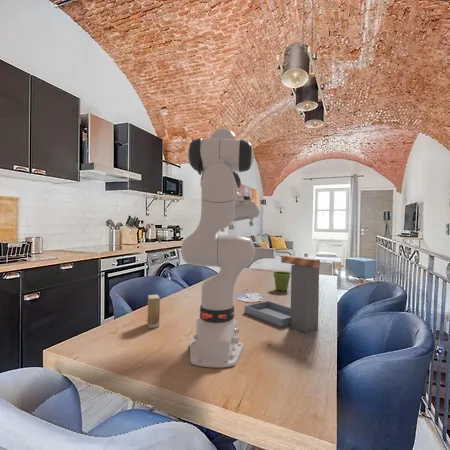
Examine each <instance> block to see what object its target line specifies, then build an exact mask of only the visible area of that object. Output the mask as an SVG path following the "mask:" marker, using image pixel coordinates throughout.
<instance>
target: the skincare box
mask: <svg viewBox="0 0 450 450" xmlns="http://www.w3.org/2000/svg"><path fill="white" fill-rule="evenodd" d="M160 304H161V297H160V296H159V294H148V295H147V317H146V318H147V324H146V325H147V327H148V328H149V329H153V328H154V329H155V328H160V313H161V312H160V308H161V305H160Z"/></svg>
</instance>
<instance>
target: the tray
mask: <svg viewBox="0 0 450 450" xmlns="http://www.w3.org/2000/svg"><path fill="white" fill-rule="evenodd" d="M243 312H244V314H246V315H249V316H251V317H254V318H257V319H259V320H262V321H264V322H266V323H269V324H272V325H274V326H276V327H278V328H286V327H290V317H291V307H289V306H286V305H283V304H279V303H276V302H273V301H271V300H270V301H269V300H265V301H261V302H256V303H253V304H246V305H244V311H243Z"/></svg>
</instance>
